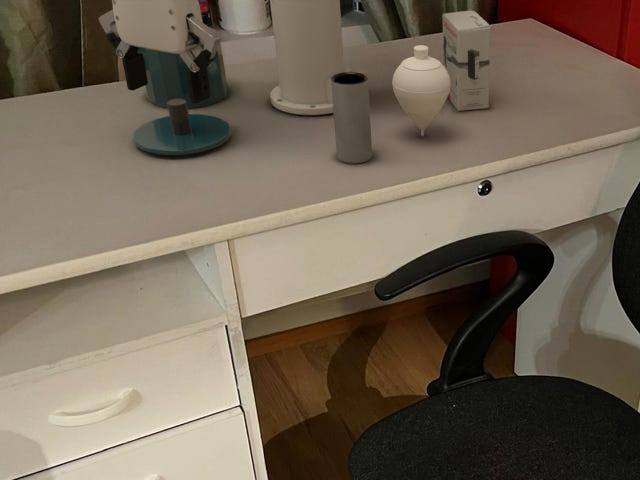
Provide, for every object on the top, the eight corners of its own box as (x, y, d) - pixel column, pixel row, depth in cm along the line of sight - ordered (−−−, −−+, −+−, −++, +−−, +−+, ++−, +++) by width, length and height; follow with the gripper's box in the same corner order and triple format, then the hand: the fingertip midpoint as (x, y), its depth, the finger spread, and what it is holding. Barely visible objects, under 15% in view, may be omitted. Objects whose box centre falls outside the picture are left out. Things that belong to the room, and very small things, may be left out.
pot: (242, 88, 131) (234, 30, 126) (196, 113, 122) (185, 53, 117) (180, 77, 134) (170, 20, 129) (131, 100, 126) (117, 41, 120)
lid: (250, 131, 118) (245, 94, 115) (193, 166, 108) (186, 126, 105) (175, 116, 121) (168, 79, 118) (114, 149, 112) (104, 110, 109)
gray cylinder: (376, 151, 113) (372, 73, 107) (366, 165, 110) (361, 85, 104) (343, 147, 114) (337, 70, 108) (332, 161, 111) (325, 82, 104)
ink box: (441, 91, 132) (441, 11, 125) (472, 89, 133) (474, 9, 126) (457, 111, 125) (458, 28, 118) (489, 109, 127) (492, 25, 119)
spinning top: (427, 120, 122) (425, 34, 115) (461, 137, 118) (463, 48, 111) (383, 133, 118) (379, 44, 111) (417, 152, 114) (415, 60, 106)
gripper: (227, -48, 101) (243, 96, 111) (108, -66, 106) (134, 74, 116) (186, -37, 95) (207, 114, 105) (62, -56, 100) (94, 90, 110)
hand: (169, 93), depth 111 cm, fingers open, 9 cm apart
